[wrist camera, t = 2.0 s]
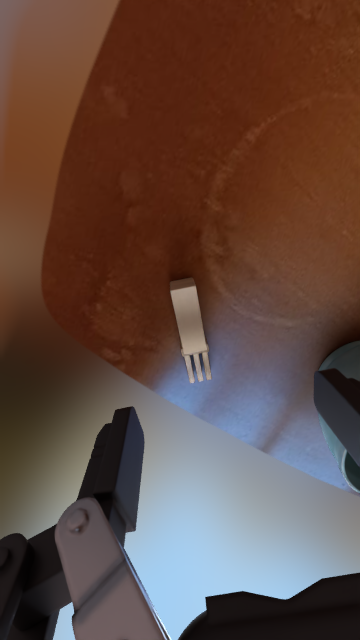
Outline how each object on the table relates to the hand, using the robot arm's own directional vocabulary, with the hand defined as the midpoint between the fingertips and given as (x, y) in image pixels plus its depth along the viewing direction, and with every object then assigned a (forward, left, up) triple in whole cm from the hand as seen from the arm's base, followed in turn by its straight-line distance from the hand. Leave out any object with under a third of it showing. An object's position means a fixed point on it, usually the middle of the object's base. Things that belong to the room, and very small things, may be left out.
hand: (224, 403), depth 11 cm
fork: (-1, -4, -17) cm, 17 cm away
